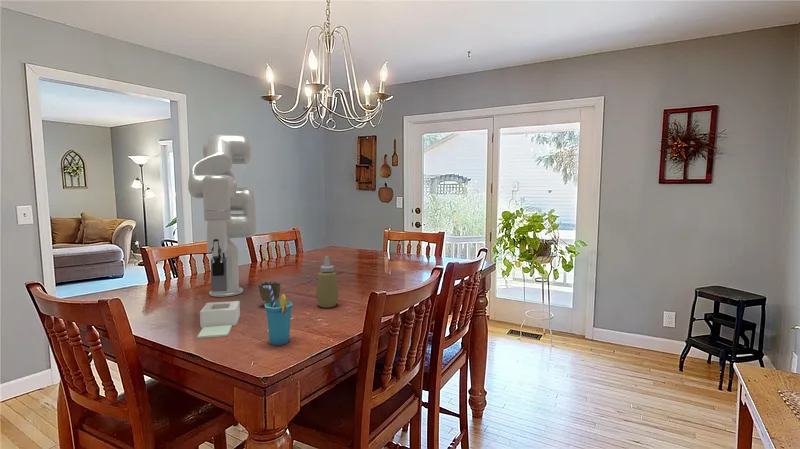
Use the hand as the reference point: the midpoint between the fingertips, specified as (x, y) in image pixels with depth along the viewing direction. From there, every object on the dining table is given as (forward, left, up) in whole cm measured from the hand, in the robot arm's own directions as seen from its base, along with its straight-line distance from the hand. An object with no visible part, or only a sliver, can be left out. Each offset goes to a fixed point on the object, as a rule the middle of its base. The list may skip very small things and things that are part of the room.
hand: (219, 273), depth 130 cm
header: (0, 0, -16) cm, 16 cm away
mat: (+10, 0, -16) cm, 19 cm away
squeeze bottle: (-10, +34, -16) cm, 39 cm away
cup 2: (-15, +14, -16) cm, 26 cm away
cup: (+21, +18, -16) cm, 32 cm away
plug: (0, 0, -5) cm, 5 cm away
